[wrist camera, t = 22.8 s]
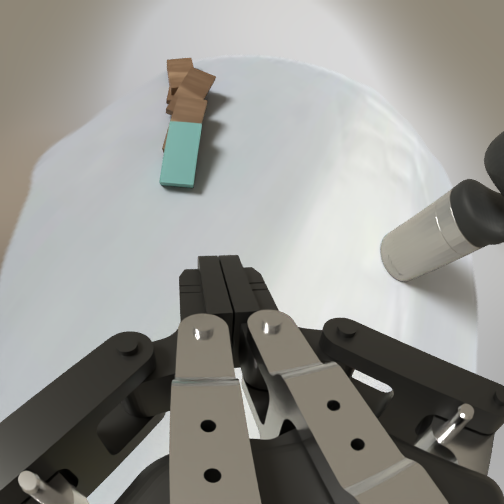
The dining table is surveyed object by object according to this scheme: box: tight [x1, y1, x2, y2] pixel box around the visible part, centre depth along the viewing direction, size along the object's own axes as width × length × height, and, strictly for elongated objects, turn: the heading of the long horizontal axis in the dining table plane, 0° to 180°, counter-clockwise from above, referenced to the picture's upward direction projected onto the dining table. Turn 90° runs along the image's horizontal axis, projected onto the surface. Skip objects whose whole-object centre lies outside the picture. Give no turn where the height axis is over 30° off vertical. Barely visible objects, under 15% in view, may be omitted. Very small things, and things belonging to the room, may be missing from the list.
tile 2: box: [162, 96, 207, 152], centre depth 45 cm, size 2×5×10 cm
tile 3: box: [166, 67, 216, 115], centre depth 47 cm, size 2×5×10 cm
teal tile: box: [160, 121, 202, 188], centre depth 43 cm, size 2×5×10 cm
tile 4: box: [167, 58, 194, 95], centre depth 49 cm, size 2×5×10 cm
